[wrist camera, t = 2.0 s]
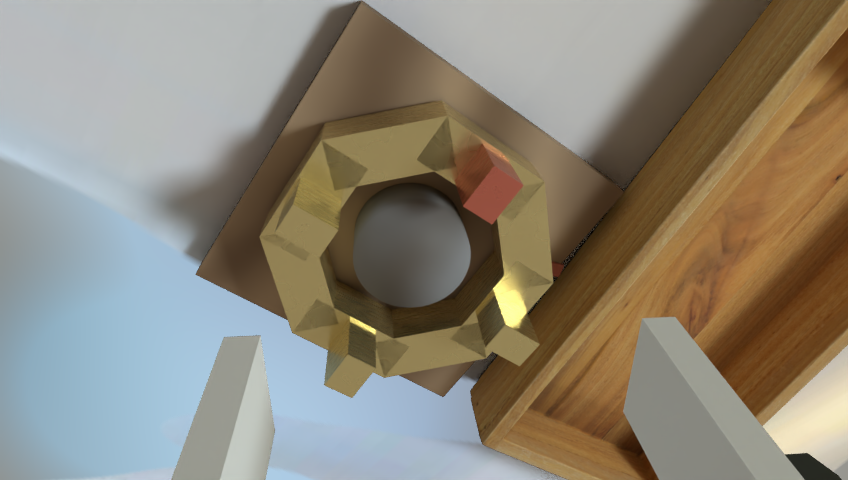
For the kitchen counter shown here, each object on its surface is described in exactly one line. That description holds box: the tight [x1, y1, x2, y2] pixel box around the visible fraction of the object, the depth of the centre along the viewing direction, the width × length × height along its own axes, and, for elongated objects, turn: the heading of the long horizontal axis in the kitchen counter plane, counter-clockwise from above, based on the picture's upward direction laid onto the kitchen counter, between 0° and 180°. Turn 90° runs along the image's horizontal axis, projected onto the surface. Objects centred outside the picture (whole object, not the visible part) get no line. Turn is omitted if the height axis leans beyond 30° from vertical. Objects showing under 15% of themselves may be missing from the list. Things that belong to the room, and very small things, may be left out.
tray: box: [470, 0, 848, 480], centre depth 35 cm, size 31×15×6 cm, turn 149°
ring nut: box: [259, 100, 553, 398], centre depth 30 cm, size 14×14×6 cm
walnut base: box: [196, 0, 624, 397], centre depth 32 cm, size 17×17×4 cm
